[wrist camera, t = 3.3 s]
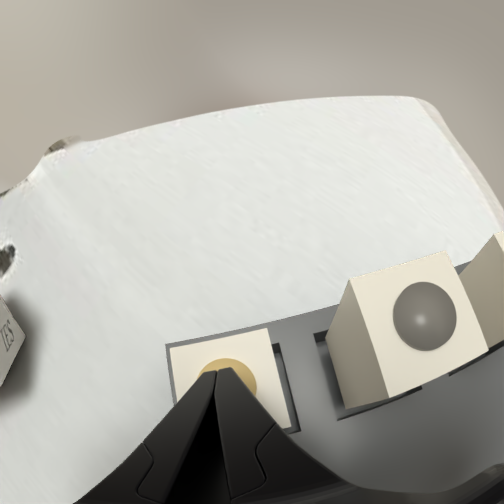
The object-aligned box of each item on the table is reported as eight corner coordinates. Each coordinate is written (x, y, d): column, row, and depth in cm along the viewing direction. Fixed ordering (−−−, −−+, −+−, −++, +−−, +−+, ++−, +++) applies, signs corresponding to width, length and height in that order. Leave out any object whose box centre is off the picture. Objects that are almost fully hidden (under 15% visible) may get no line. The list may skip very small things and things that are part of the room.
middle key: (414, 383, 11) (492, 348, 6) (345, 409, 11) (392, 397, 6) (392, 316, 13) (448, 246, 8) (325, 337, 13) (350, 275, 8)
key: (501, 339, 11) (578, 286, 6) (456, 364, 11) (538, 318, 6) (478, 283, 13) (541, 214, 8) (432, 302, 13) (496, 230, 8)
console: (513, 451, 10) (544, 449, 8) (229, 559, 10) (218, 582, 7) (459, 280, 16) (481, 256, 14) (184, 358, 16) (165, 344, 14)
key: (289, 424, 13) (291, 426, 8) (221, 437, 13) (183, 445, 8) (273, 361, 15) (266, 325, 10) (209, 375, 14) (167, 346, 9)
